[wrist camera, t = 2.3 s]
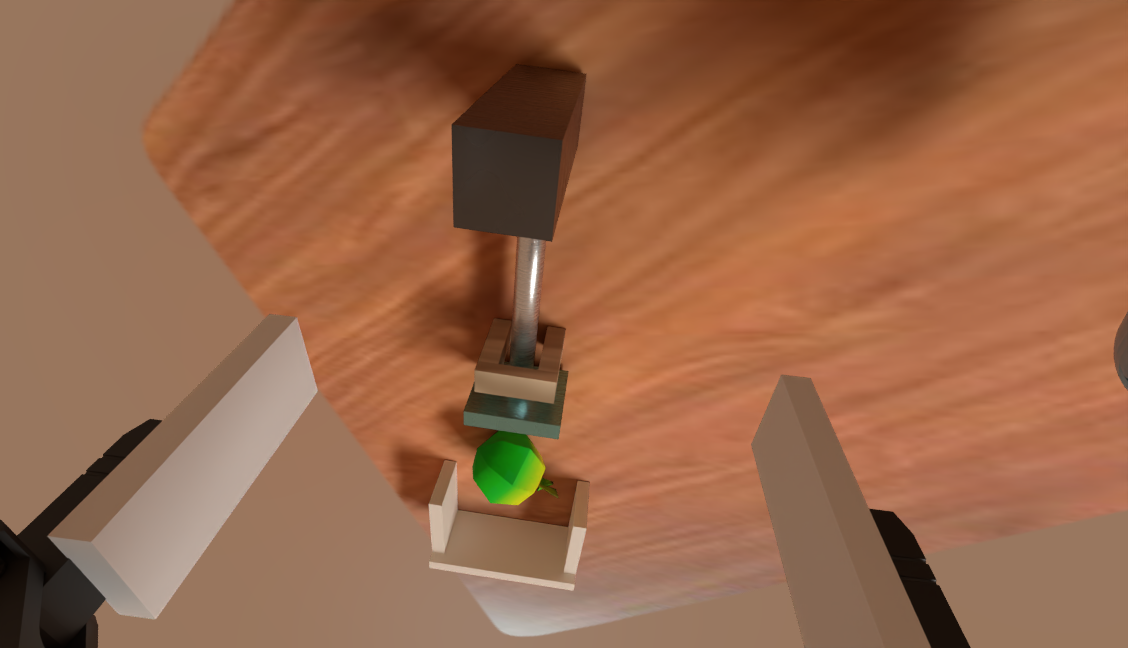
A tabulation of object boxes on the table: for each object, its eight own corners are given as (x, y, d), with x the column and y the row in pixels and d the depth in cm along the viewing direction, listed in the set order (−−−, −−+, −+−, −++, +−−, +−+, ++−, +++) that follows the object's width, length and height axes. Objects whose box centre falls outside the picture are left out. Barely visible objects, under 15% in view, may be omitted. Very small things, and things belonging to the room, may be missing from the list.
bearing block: (494, 318, 40) (474, 370, 34) (565, 328, 39) (556, 382, 34) (493, 338, 41) (474, 391, 36) (562, 348, 41) (553, 403, 36)
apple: (461, 494, 41) (551, 542, 43) (503, 425, 42) (589, 476, 44) (452, 468, 48) (530, 511, 50) (489, 409, 49) (564, 454, 51)
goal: (444, 459, 50) (425, 513, 45) (589, 482, 50) (585, 538, 45) (447, 514, 56) (429, 567, 51) (578, 535, 55) (573, 590, 50)
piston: (489, 60, 29) (410, 118, 18) (612, 77, 29) (604, 146, 18) (483, 369, 42) (435, 505, 32) (566, 382, 42) (546, 522, 32)
